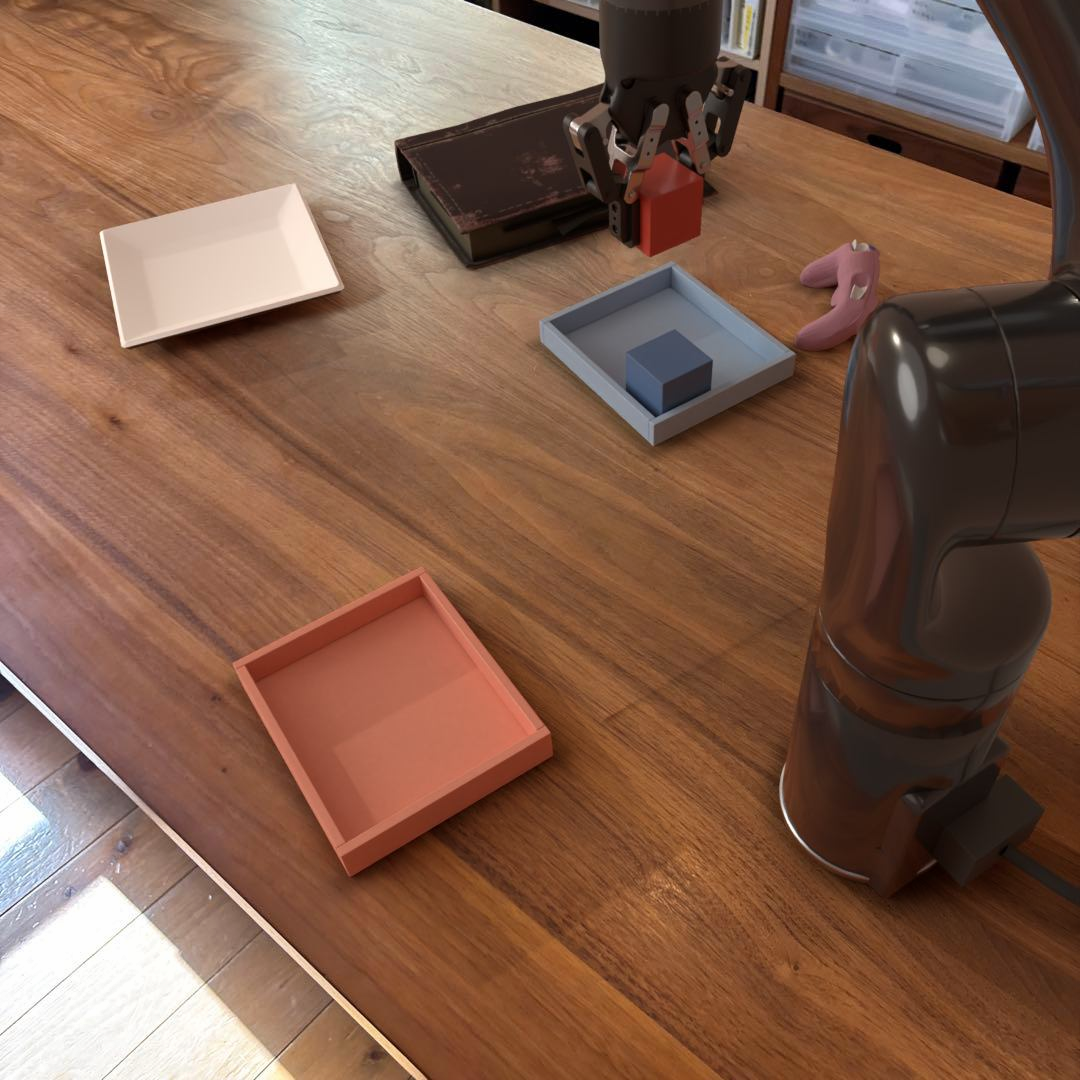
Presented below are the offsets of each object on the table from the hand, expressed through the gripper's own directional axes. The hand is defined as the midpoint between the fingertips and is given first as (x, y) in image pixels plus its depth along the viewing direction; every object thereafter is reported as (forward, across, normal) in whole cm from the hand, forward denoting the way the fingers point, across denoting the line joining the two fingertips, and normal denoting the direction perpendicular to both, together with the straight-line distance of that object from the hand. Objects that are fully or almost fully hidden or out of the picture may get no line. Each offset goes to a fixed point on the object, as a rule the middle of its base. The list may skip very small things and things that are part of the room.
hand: (656, 228), depth 79 cm
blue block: (+11, -3, -5) cm, 13 cm away
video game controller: (+12, +14, -5) cm, 19 cm away
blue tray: (+12, 0, -1) cm, 12 cm away
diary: (+12, +7, +25) cm, 29 cm away
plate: (+12, -24, +32) cm, 42 cm away
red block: (0, 0, 0) cm, 0 cm away
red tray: (+12, -33, -18) cm, 39 cm away
